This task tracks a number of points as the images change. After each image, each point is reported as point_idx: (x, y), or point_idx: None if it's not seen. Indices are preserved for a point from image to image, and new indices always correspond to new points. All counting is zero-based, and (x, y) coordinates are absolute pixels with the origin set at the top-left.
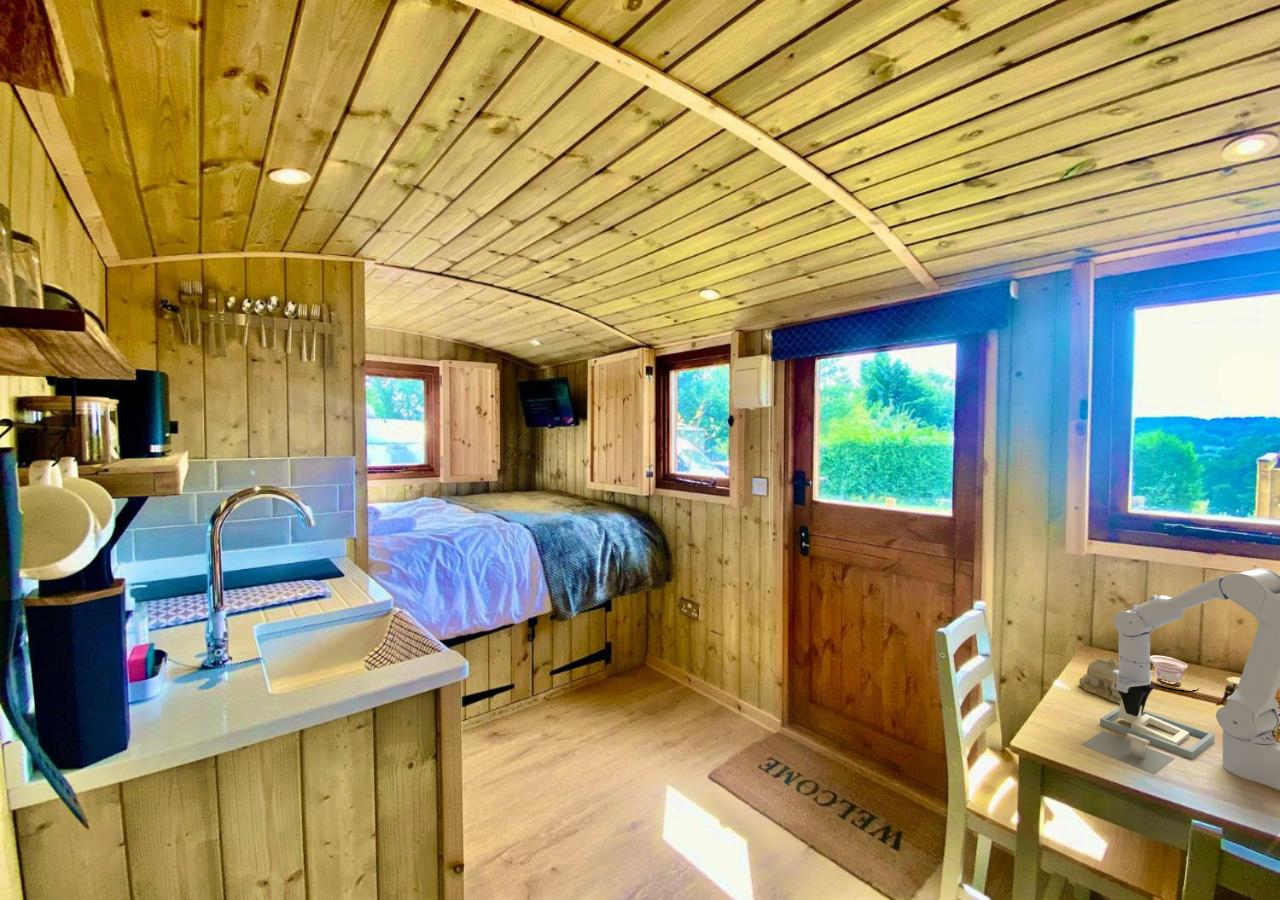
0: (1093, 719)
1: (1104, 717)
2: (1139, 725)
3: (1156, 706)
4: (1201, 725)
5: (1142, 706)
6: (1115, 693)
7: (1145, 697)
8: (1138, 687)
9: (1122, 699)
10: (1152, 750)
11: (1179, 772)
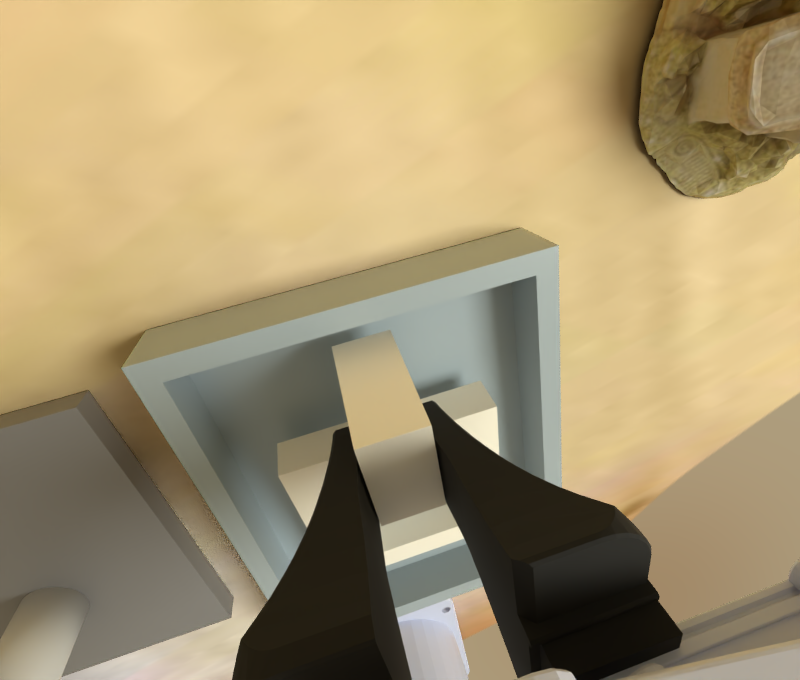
0: (221, 221)
1: (179, 361)
2: (302, 494)
3: (766, 224)
4: (683, 409)
5: (446, 497)
6: (723, 68)
7: (483, 583)
8: (514, 636)
9: (313, 516)
10: (187, 577)
11: (176, 640)
